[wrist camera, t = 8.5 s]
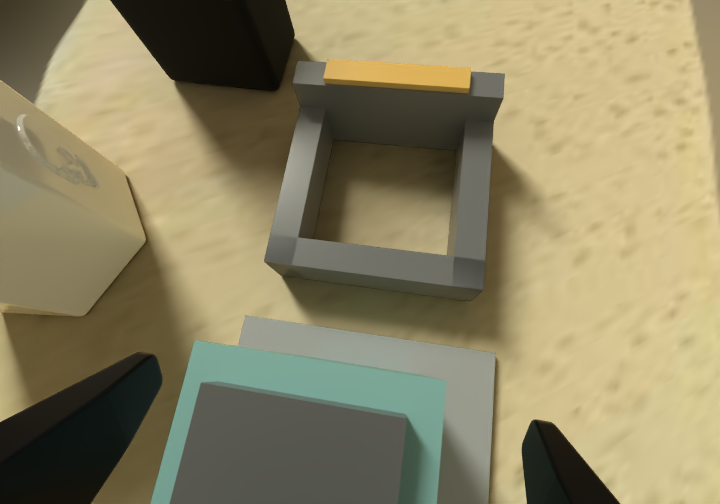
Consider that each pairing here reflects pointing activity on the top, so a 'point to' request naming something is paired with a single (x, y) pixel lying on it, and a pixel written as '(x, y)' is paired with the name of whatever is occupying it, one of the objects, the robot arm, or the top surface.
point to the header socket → (393, 127)
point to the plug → (300, 432)
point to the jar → (58, 215)
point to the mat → (453, 364)
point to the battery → (215, 39)
